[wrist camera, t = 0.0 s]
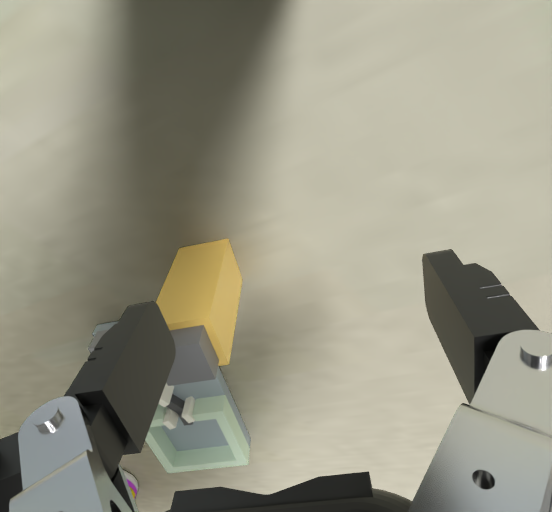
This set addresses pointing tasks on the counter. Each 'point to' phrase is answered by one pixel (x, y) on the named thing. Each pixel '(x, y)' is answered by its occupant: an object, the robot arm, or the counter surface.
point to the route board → (195, 424)
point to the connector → (201, 309)
